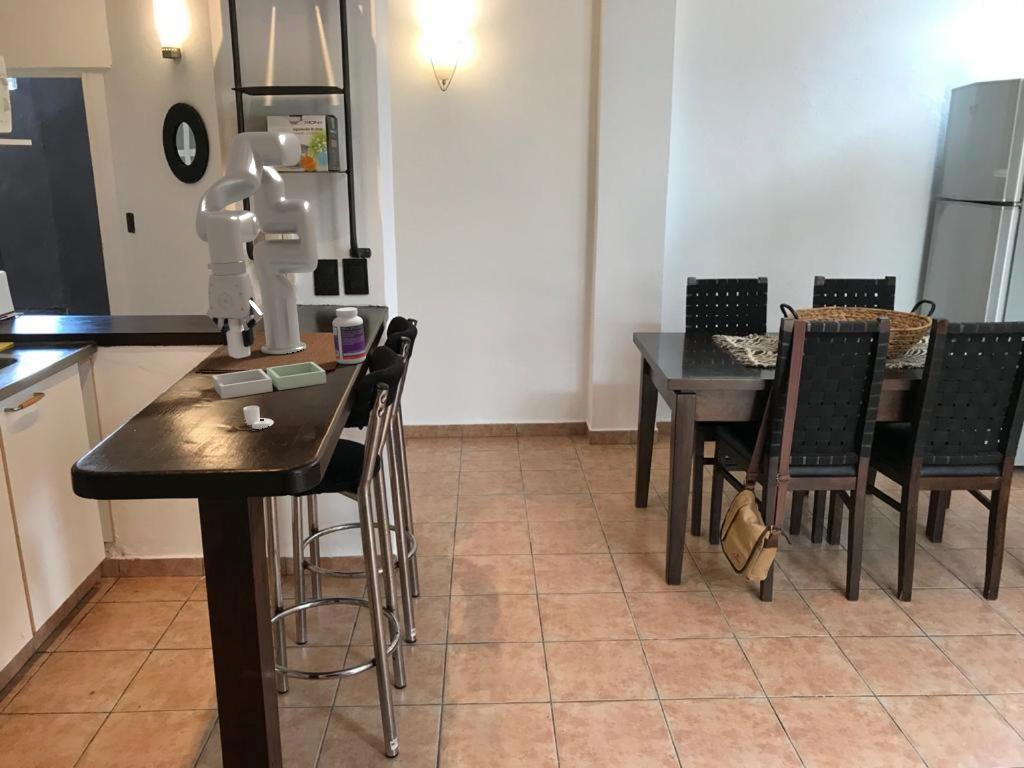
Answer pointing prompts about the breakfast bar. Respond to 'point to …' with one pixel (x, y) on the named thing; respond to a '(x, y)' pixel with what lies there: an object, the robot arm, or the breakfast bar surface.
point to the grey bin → (242, 383)
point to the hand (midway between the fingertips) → (238, 344)
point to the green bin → (296, 375)
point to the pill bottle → (348, 336)
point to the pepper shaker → (236, 340)
